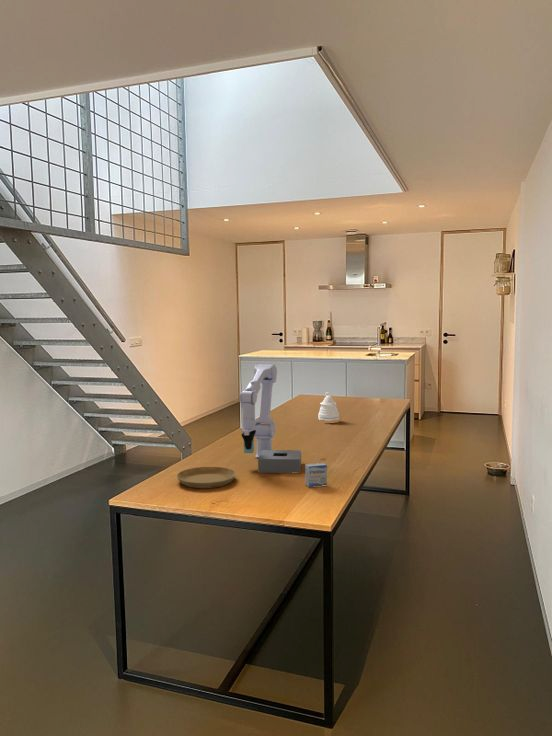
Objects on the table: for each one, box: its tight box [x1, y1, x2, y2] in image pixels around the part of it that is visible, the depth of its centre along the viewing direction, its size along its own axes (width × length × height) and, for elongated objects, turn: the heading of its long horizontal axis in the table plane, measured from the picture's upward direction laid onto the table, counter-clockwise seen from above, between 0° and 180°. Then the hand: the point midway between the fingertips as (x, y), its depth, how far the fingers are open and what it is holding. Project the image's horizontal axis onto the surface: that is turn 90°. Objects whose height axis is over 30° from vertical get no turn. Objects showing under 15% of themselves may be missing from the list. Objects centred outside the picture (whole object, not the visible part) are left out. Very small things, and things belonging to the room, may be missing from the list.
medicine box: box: [304, 462, 328, 488], centre depth 229 cm, size 8×4×9 cm, turn 105°
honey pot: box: [317, 392, 340, 421], centre depth 356 cm, size 13×13×18 cm
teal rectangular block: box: [243, 439, 255, 454], centre depth 255 cm, size 4×4×5 cm
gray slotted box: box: [257, 449, 302, 474], centre depth 255 cm, size 16×18×6 cm
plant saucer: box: [176, 466, 237, 489], centre depth 237 cm, size 24×24×3 cm
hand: (249, 447), depth 256 cm, fingers closed on teal rectangular block, 4 cm apart
